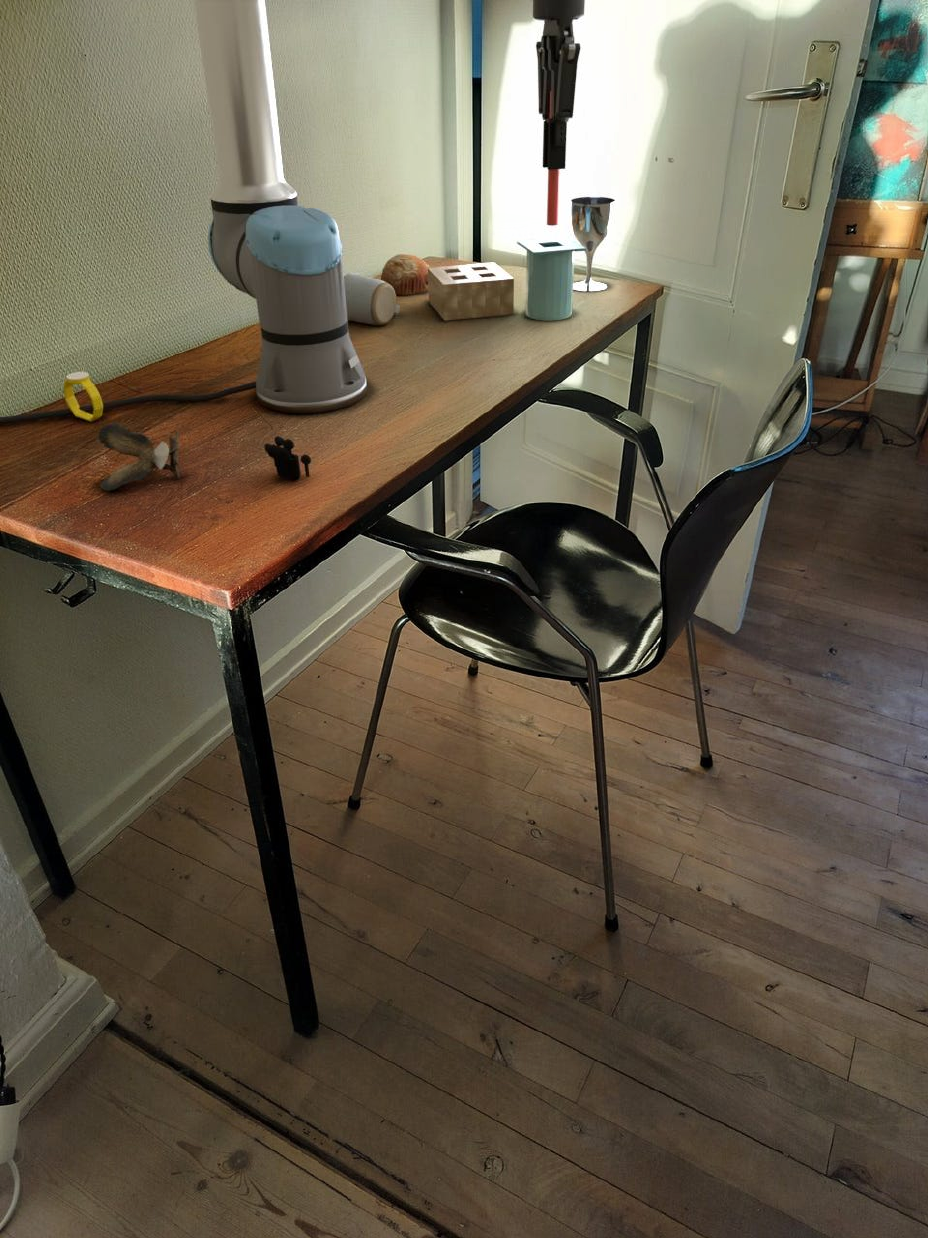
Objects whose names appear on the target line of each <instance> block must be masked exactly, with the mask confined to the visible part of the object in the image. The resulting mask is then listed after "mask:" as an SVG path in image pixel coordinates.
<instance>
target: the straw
mask: <svg viewBox="0 0 928 1238" xmlns="http://www.w3.org/2000/svg"><path fill="white" fill-rule="evenodd" d="M550 118H551V91H550ZM560 171H561V169H554V170H548V169H547V199H546V201H547V202H546V203H547V205H546V207H547V208H546V225H547V226H551V227H552V226H557V225H558V224H559V202H560V201H559V199H560Z"/></svg>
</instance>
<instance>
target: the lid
mask: <svg viewBox="0 0 928 1238" xmlns="http://www.w3.org/2000/svg"><path fill="white" fill-rule="evenodd" d="M516 244H517V245H519V246H520V247H522V248H523V249H524V250H526V252H527V251H529V252H530V253H532V254H533V255H539V254H551V253H563V252H575V253H576V252H585V251H586V248H585V247H583V246H581V244H580V243H579V242H577V241H574V240H573V239H572V238H569V237H568V236H565V237H552V238H551V237H550V238H539V239H526V240H525V239H524V240H517V241H516ZM552 244H558V245H559V246H557V247H545V248H544V247H543V246H541V245H552Z"/></svg>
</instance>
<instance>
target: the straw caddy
mask: <svg viewBox="0 0 928 1238" xmlns="http://www.w3.org/2000/svg"><path fill="white" fill-rule="evenodd" d="M427 292H428V302H429V304H430V305H431V306H432V308H433V309H434V310H435V311H436V312H437V314H438V315H439V316H440V317H441V319H442V320H443V321H457V320H467V319H476V318H477V319H478V318H486V317H487V318H488V317H489V318H490V317H499V316H507V315H509V316H510V315H514V311H515V310H514V308H515V307H514V306H515V305H514V304H515V302H514V301H515V299H514V298H515V278H514V277H513V276H511V275H510V274H509V273H508V272H506V270H504V269H503V268H502V267H500V266H499V265H498V263H496V262H481V263H470V264H469V263H468V264H458V265H457V264H456V265H447V266H445V265H443V266H434V267H430V268H428V291H427Z"/></svg>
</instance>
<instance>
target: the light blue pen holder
mask: <svg viewBox="0 0 928 1238" xmlns="http://www.w3.org/2000/svg"><path fill="white" fill-rule="evenodd" d="M541 246H543V247H544V248H545V247H557V246H559V245H558V244H552V245H541ZM575 256H576V251H575V252H563V253H551V254H539V255H533V254H532V253H530V252H529V251H527V250H526V267H525V269H526V271H525V316H526V317H527V318H529V319H532V320H536V321H547V322H548V321H550V322H551V321H552V322H553V321H561V320H565V319H568V318H570V317H571V316H572V314H573V300H574V299H573V297H574V290H573V283H574V279H575Z"/></svg>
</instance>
